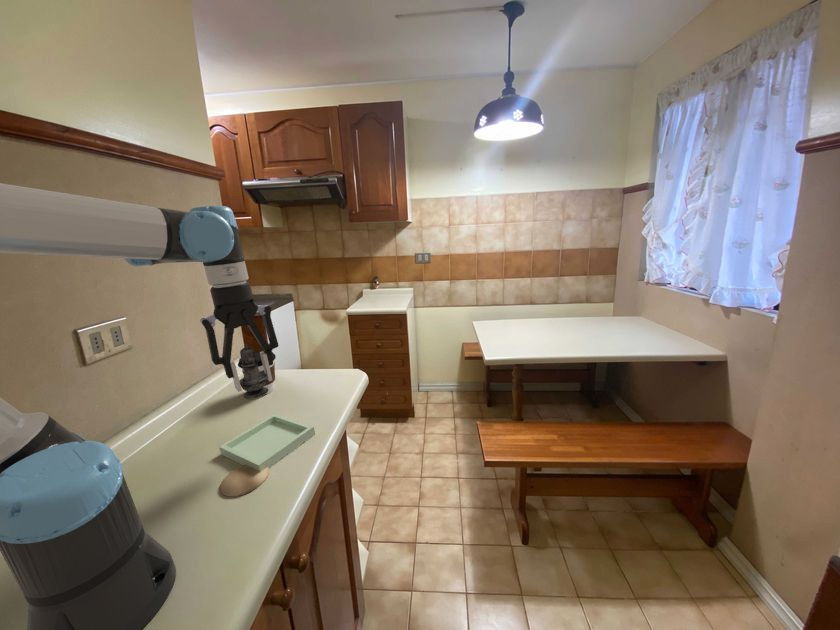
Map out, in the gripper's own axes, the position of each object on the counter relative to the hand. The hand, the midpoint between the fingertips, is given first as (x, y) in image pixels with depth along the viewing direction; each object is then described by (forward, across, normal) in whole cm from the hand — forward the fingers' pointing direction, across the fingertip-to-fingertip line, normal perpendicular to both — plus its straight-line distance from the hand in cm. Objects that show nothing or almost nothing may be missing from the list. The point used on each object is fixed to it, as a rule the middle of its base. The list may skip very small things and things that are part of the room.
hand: (254, 383), depth 77 cm
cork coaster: (+16, -7, -9) cm, 20 cm away
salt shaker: (+2, 0, 0) cm, 2 cm away
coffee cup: (+16, +8, +31) cm, 36 cm away
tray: (+16, 0, 0) cm, 16 cm away
